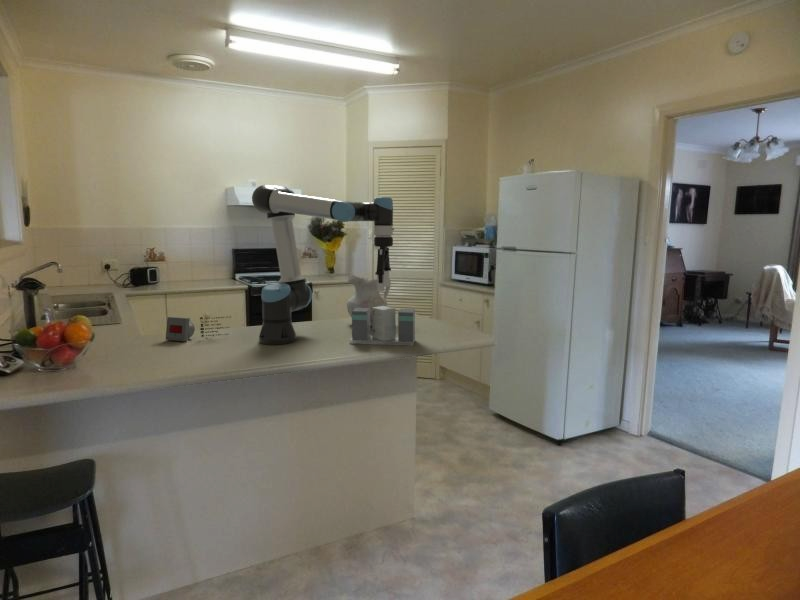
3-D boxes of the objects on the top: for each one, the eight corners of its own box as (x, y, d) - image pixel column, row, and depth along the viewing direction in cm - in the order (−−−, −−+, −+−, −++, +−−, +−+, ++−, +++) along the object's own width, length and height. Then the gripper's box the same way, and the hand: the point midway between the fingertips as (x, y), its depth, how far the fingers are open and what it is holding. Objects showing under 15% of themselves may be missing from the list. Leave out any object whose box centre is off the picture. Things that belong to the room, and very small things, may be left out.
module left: (352, 340, 209) (351, 311, 208) (356, 335, 218) (355, 307, 216) (366, 340, 209) (366, 311, 207) (370, 335, 217) (370, 308, 215)
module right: (398, 341, 207) (398, 312, 205) (400, 336, 215) (400, 308, 213) (413, 341, 207) (413, 312, 205) (414, 337, 215) (415, 309, 213)
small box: (395, 339, 211) (395, 308, 209) (383, 341, 207) (383, 309, 205) (383, 335, 217) (383, 305, 215) (371, 337, 213) (371, 307, 211)
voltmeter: (164, 344, 209) (162, 320, 207) (167, 338, 219) (165, 315, 218) (232, 339, 217) (231, 316, 215) (232, 333, 228) (231, 311, 226)
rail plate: (349, 343, 210) (349, 340, 209) (354, 338, 218) (354, 335, 218) (412, 345, 207) (412, 342, 206) (414, 340, 215) (414, 336, 215)
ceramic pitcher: (376, 319, 263) (373, 271, 260) (400, 323, 248) (397, 271, 245) (340, 325, 249) (337, 274, 247) (363, 329, 234) (360, 275, 232)
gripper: (388, 237, 193) (388, 293, 196) (396, 235, 217) (396, 284, 221) (368, 237, 194) (369, 293, 197) (379, 235, 218) (379, 284, 222)
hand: (383, 288), depth 209 cm, fingers open, 13 cm apart
